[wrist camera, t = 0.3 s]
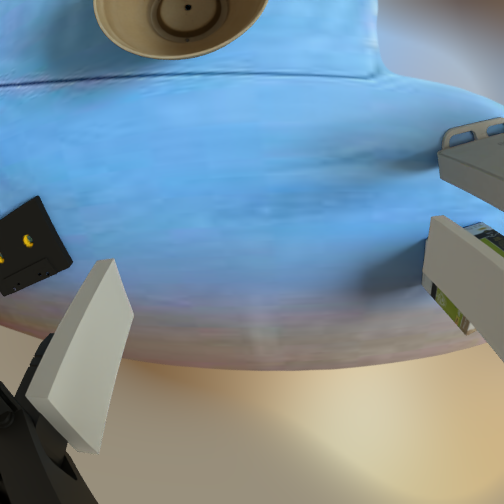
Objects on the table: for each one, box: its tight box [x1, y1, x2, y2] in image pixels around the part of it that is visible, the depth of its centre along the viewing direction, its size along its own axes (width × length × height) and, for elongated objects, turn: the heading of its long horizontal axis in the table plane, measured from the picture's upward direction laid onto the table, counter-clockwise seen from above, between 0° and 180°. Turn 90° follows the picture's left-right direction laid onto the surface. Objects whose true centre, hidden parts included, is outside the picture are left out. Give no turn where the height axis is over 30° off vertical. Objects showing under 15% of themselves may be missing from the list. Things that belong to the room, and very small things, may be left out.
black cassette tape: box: [0, 196, 73, 296], centre depth 38 cm, size 18×12×2 cm, turn 107°
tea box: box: [422, 222, 504, 336], centre depth 41 cm, size 15×10×15 cm, turn 102°
